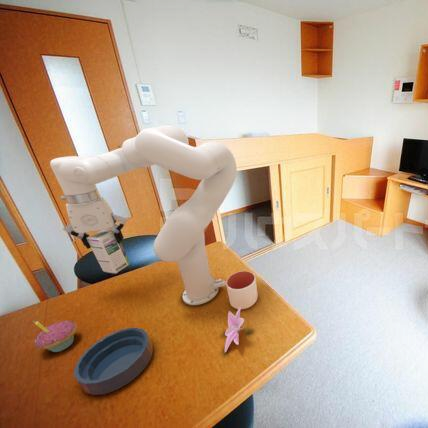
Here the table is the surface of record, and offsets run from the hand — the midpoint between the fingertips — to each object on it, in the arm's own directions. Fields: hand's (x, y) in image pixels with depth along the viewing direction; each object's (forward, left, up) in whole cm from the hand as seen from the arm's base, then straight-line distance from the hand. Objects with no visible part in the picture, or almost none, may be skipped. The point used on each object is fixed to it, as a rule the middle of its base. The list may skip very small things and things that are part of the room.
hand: (105, 243), depth 82 cm
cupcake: (+11, +19, -22) cm, 31 cm away
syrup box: (0, 0, -11) cm, 11 cm away
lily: (-38, +36, -22) cm, 57 cm away
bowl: (-7, +33, -22) cm, 40 cm away
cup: (-42, +21, -22) cm, 52 cm away
